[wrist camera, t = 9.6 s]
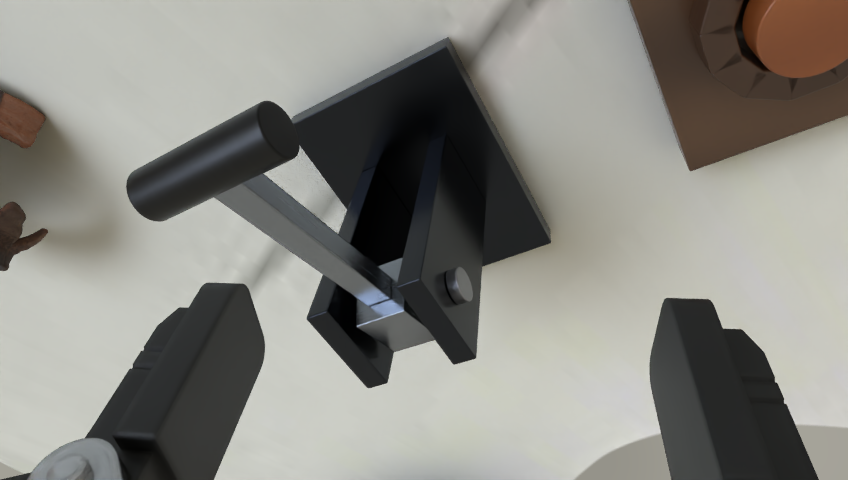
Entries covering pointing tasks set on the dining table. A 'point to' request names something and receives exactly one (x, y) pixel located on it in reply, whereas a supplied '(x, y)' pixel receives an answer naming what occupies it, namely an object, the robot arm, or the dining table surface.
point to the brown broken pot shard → (5, 224)
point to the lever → (274, 212)
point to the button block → (727, 81)
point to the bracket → (418, 200)
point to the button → (797, 35)
